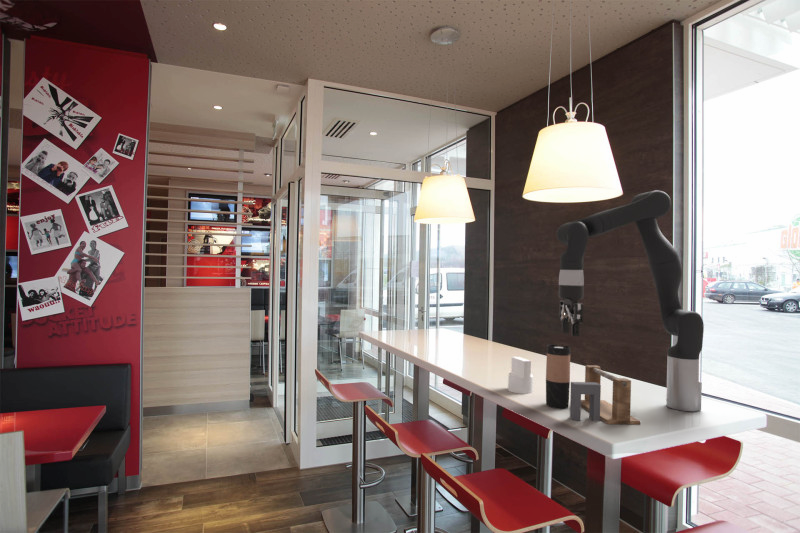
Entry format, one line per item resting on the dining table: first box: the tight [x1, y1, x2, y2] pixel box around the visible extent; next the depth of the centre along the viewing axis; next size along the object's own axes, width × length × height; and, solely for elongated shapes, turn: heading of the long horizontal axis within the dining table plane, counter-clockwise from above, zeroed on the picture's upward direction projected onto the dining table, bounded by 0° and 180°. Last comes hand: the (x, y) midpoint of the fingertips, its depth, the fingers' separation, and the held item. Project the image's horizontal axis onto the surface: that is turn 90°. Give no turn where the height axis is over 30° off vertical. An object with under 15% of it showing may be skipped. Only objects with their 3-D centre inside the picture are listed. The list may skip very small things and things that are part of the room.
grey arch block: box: [569, 381, 602, 422], centre depth 140 cm, size 8×3×11 cm, turn 92°
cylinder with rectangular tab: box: [507, 356, 534, 395], centre depth 172 cm, size 9×9×12 cm
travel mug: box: [545, 344, 571, 410], centre depth 154 cm, size 8×8×20 cm
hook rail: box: [581, 364, 641, 425], centre depth 147 cm, size 10×22×13 cm, turn 2°
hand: (570, 334), depth 147 cm, fingers open, 8 cm apart
